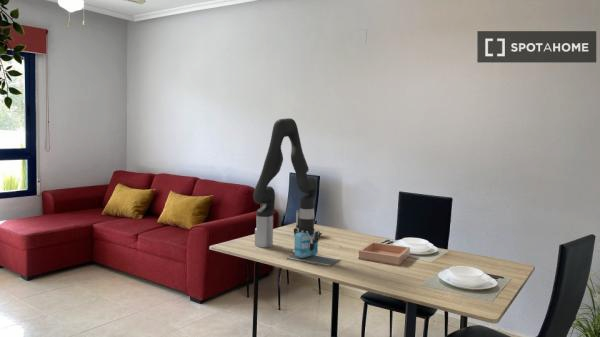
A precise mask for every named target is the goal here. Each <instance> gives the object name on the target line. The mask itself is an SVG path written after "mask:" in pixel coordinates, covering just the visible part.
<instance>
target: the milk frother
mask: <svg viewBox="0 0 600 337" xmlns="http://www.w3.org/2000/svg"><path fill="white" fill-rule="evenodd" d="M295 211H296V216H295V217H296V220H295V221H296V222H295V225H296V226H295V228H299V227H300V226H299V215H300V209H297V210H295ZM299 232H300V231H299ZM322 235H323V233H322V232H320V233H319V237H320V236H322Z"/></svg>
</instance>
